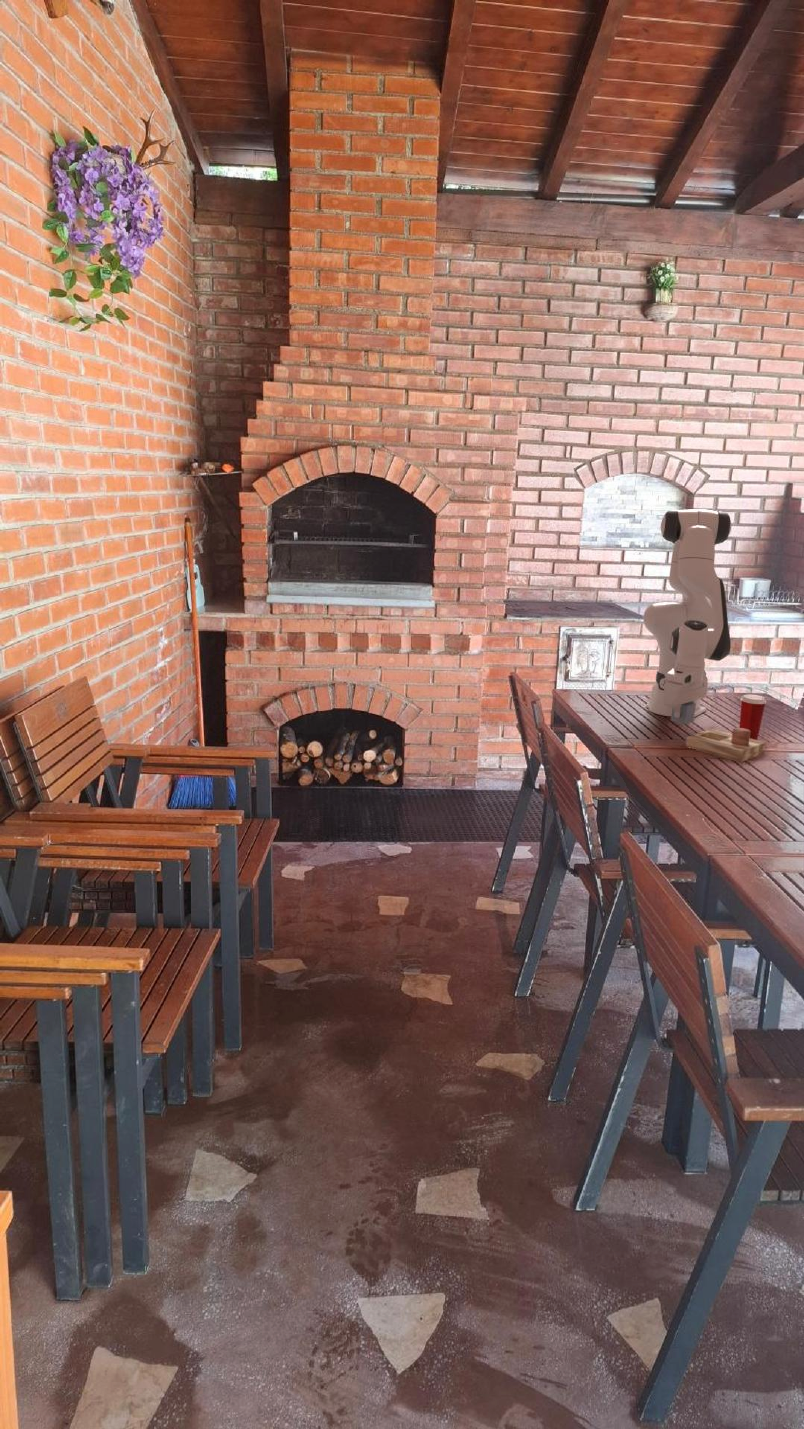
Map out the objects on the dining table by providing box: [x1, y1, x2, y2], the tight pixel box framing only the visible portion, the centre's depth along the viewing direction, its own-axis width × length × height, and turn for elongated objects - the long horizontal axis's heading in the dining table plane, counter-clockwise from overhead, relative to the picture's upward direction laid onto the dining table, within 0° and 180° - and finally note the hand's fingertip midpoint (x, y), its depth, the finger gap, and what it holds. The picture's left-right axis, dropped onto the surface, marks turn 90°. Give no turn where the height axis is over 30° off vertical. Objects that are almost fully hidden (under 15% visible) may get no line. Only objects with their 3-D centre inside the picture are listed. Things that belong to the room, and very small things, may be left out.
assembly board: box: [685, 727, 766, 763], centre depth 279 cm, size 15×18×8 cm
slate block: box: [670, 702, 696, 725], centre depth 289 cm, size 5×5×6 cm
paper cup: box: [738, 694, 767, 740], centre depth 292 cm, size 8×8×14 cm
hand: (682, 715), depth 290 cm, fingers closed on slate block, 5 cm apart
